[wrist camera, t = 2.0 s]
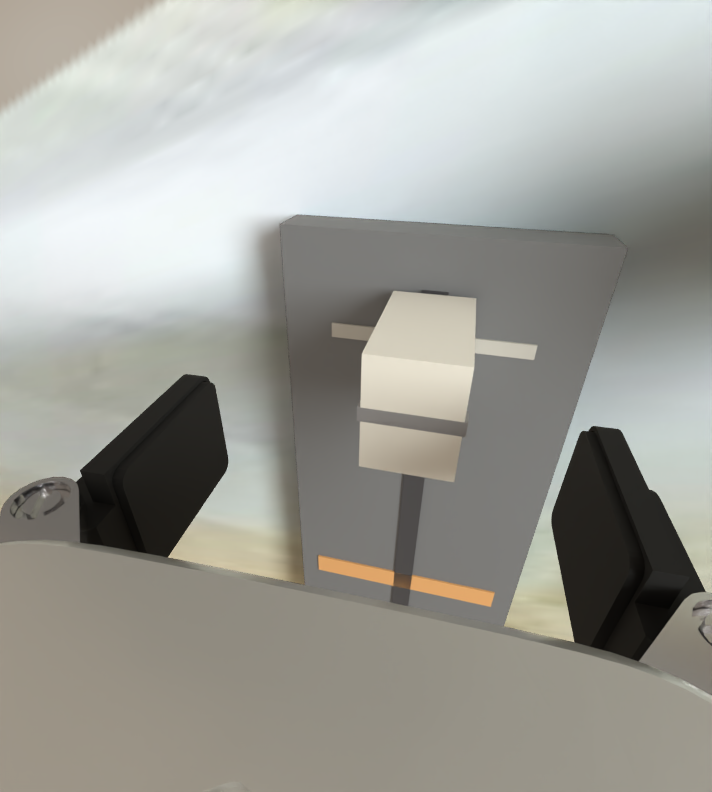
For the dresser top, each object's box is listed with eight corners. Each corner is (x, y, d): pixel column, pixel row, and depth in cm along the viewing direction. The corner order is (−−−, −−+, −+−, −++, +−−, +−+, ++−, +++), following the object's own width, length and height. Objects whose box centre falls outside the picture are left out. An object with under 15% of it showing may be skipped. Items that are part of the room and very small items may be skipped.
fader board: (613, 234, 16) (628, 248, 15) (494, 622, 29) (494, 654, 27) (297, 214, 18) (278, 224, 17) (315, 582, 31) (305, 609, 29)
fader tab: (479, 298, 16) (478, 367, 12) (463, 393, 18) (457, 483, 14) (390, 290, 17) (358, 353, 12) (385, 383, 19) (355, 465, 14)
